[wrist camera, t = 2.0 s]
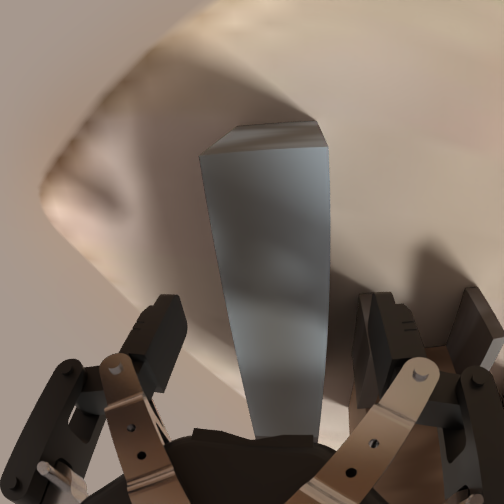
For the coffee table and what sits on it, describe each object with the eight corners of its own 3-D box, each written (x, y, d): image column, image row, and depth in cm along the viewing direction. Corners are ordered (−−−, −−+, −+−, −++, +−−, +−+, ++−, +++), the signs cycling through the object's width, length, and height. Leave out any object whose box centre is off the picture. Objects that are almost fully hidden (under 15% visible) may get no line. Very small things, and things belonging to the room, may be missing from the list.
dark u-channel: (478, 287, 16) (565, 491, 4) (431, 399, 22) (454, 548, 10) (359, 293, 18) (385, 556, 6) (342, 408, 23) (339, 569, 11)
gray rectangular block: (316, 121, 13) (328, 146, 8) (318, 368, 21) (317, 442, 16) (237, 126, 14) (198, 155, 9) (267, 367, 22) (256, 441, 17)
